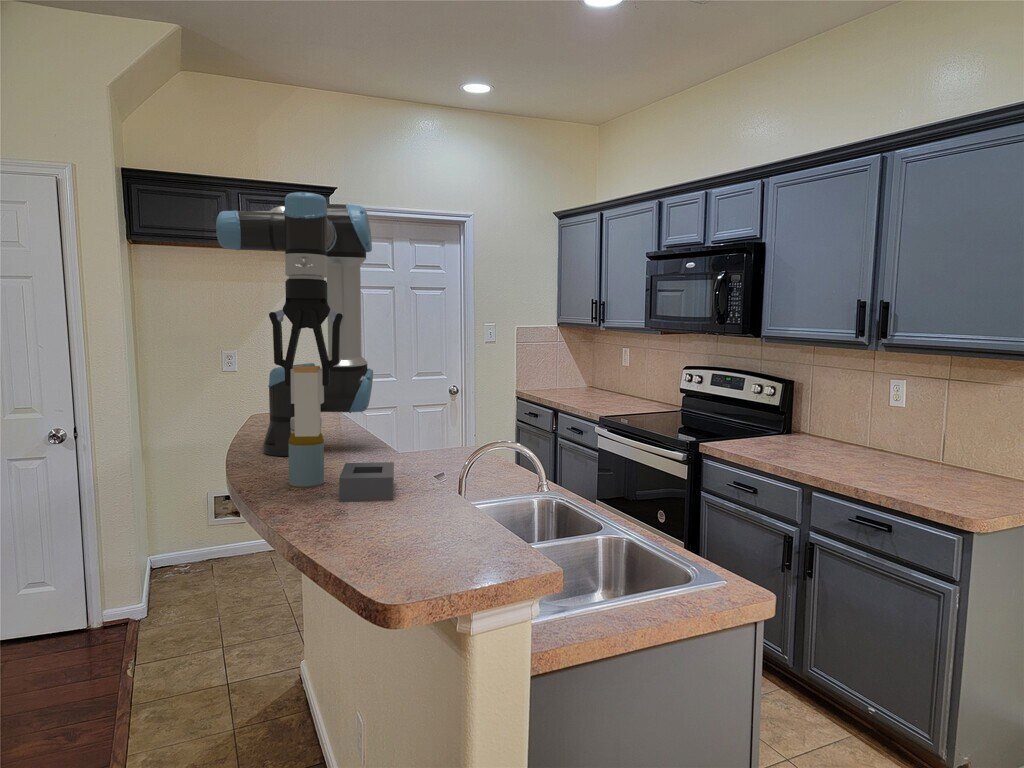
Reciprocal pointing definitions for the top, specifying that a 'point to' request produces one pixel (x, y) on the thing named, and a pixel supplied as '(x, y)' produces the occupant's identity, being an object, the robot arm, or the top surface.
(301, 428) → the plug
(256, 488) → the top surface
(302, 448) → the bottle
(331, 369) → the robot arm
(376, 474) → the gray socket block
